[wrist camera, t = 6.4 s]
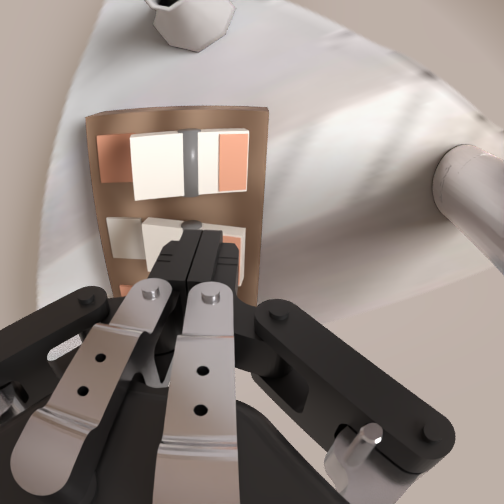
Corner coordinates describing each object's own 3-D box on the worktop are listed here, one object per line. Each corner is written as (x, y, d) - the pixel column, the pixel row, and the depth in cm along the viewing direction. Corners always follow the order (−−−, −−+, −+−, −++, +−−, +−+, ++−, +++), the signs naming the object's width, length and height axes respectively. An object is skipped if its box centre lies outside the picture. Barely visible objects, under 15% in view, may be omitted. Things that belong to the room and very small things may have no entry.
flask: (201, 65, 25) (176, 59, 17) (141, 28, 23) (93, 13, 15) (250, 7, 22) (248, -26, 14) (187, -29, 20) (159, -68, 12)
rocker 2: (246, 226, 27) (241, 235, 26) (244, 277, 30) (240, 288, 28) (149, 215, 28) (140, 223, 27) (154, 263, 31) (147, 273, 29)
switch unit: (267, 107, 27) (269, 111, 24) (254, 312, 40) (254, 337, 36) (103, 111, 27) (83, 117, 24) (130, 304, 39) (120, 327, 36)
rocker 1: (243, 126, 25) (250, 130, 23) (241, 186, 27) (247, 193, 26) (131, 133, 22) (129, 136, 21) (135, 194, 25) (134, 202, 24)
